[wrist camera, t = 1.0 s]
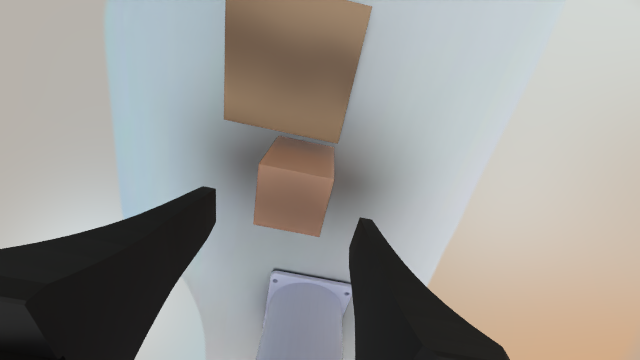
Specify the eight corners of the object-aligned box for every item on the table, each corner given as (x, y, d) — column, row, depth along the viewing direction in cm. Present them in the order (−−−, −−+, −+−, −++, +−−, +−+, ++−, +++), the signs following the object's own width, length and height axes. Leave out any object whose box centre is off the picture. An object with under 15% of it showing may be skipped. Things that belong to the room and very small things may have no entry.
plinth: (337, 134, 16) (337, 143, 15) (236, 112, 16) (224, 119, 14) (367, 13, 13) (372, 6, 11) (240, -18, 13) (226, -29, 11)
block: (322, 194, 19) (319, 237, 14) (272, 184, 19) (253, 224, 14) (334, 147, 17) (334, 179, 13) (278, 135, 17) (258, 163, 12)
